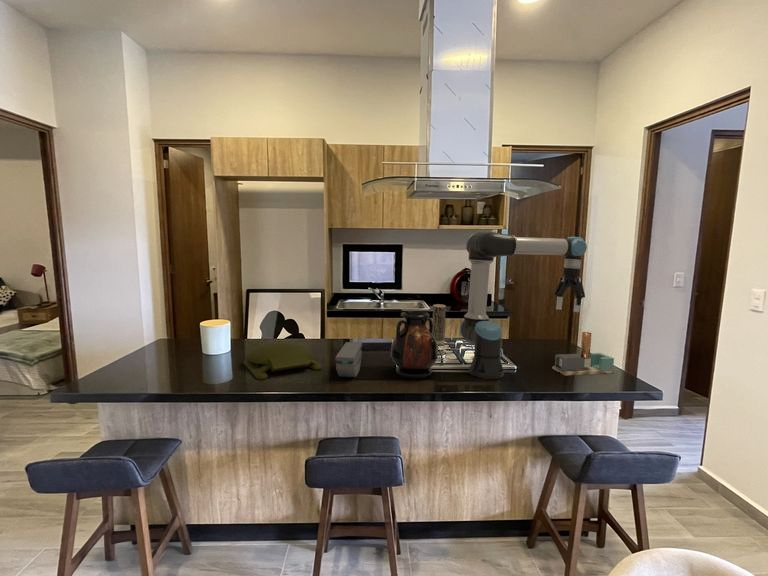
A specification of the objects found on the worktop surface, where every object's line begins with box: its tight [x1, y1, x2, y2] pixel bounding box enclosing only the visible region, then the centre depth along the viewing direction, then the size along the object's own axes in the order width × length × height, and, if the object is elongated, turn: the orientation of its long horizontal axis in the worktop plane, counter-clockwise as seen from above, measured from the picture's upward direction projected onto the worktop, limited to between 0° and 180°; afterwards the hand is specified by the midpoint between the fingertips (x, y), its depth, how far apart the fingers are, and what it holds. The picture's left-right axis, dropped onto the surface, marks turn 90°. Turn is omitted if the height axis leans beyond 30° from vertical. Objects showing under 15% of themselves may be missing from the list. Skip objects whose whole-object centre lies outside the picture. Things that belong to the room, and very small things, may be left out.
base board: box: [552, 365, 614, 376], centre depth 194 cm, size 25×10×1 cm, turn 100°
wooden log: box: [432, 303, 447, 347], centre depth 226 cm, size 7×7×25 cm
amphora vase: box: [390, 310, 439, 379], centre depth 186 cm, size 22×22×28 cm
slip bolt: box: [558, 331, 592, 367], centre depth 192 cm, size 15×4×16 cm, turn 100°
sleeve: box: [554, 353, 585, 372], centre depth 192 cm, size 11×6×6 cm, turn 100°
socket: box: [590, 352, 615, 371], centre depth 195 cm, size 6×9×6 cm, turn 10°
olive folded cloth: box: [242, 341, 324, 381], centre depth 197 cm, size 35×31×10 cm
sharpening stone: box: [335, 341, 363, 378], centre depth 187 cm, size 25×8×11 cm, turn 175°
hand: (567, 310), depth 204 cm, fingers open, 13 cm apart
